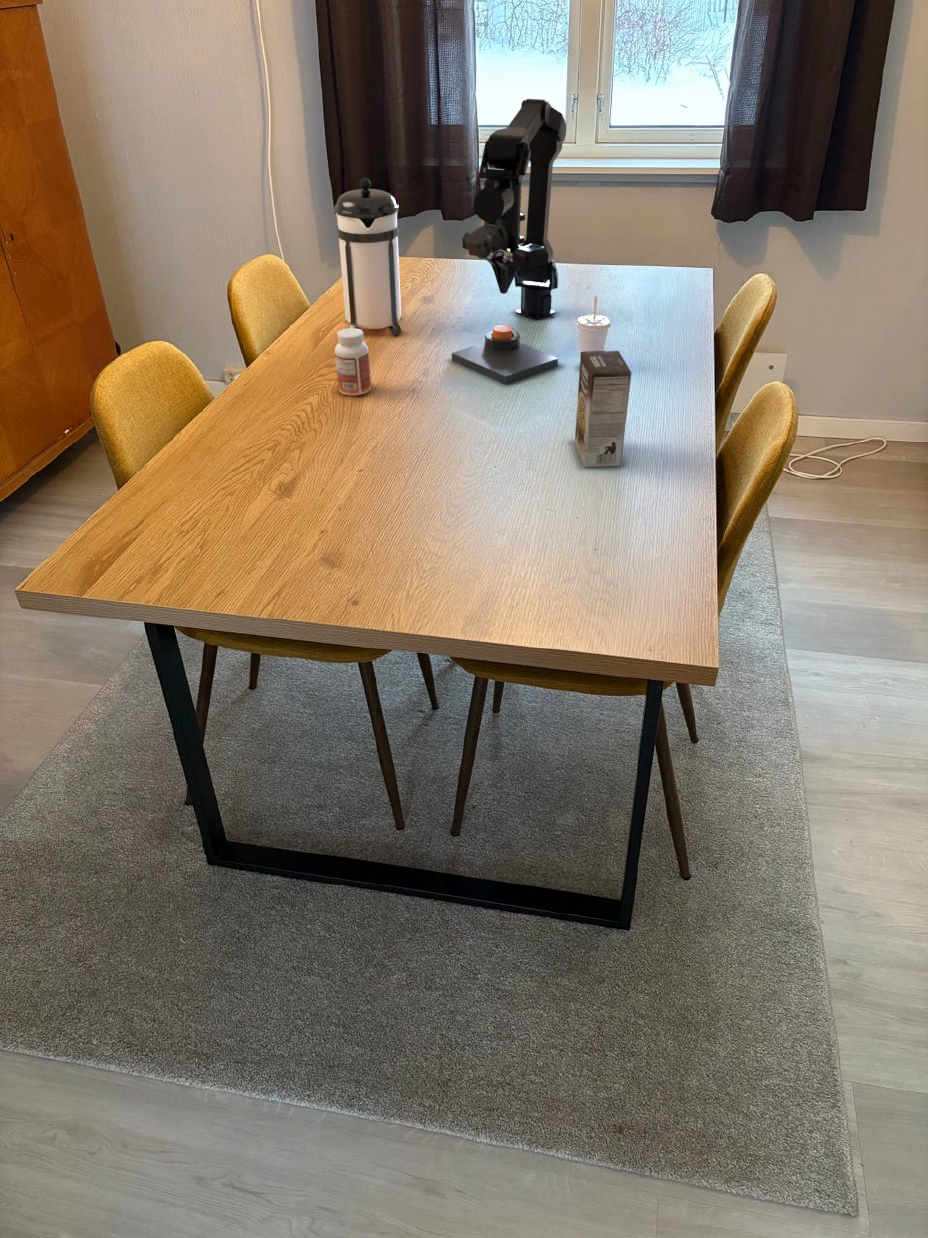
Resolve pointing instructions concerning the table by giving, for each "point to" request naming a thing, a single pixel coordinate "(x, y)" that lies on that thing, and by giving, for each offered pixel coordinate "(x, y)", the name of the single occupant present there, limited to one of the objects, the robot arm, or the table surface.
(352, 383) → the pill bottle
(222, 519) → the table surface
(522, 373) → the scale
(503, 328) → the power button
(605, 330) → the smoothie
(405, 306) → the table surface
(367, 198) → the coffee press
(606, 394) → the coffee box
